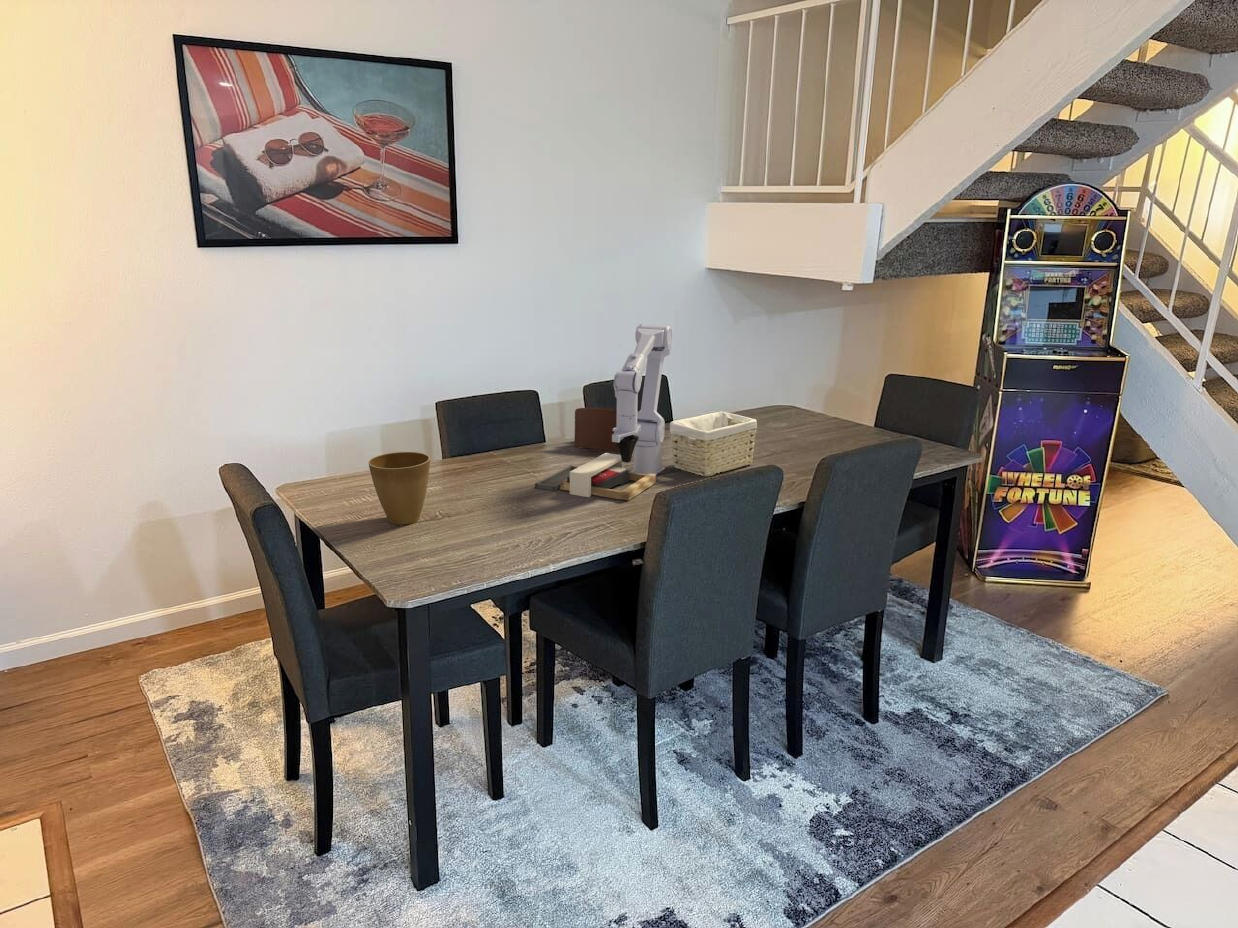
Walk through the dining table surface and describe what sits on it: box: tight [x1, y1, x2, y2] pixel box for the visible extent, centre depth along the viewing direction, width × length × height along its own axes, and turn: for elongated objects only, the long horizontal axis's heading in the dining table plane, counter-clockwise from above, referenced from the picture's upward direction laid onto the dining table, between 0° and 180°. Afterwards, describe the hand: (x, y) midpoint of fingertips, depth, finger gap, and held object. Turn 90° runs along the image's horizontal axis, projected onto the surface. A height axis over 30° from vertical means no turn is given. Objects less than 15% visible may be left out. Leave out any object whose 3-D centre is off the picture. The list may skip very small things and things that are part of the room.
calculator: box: [567, 466, 630, 489], centre depth 251 cm, size 11×4×15 cm
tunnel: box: [534, 452, 625, 498], centre depth 253 cm, size 22×18×6 cm
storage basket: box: [669, 410, 758, 477], centre depth 269 cm, size 24×16×15 cm
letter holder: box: [573, 406, 620, 452], centre depth 291 cm, size 10×20×14 cm, turn 74°
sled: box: [560, 471, 657, 501], centre depth 249 cm, size 18×21×2 cm
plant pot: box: [368, 451, 431, 526], centre depth 219 cm, size 15×15×16 cm
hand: (626, 461), depth 245 cm, fingers closed
